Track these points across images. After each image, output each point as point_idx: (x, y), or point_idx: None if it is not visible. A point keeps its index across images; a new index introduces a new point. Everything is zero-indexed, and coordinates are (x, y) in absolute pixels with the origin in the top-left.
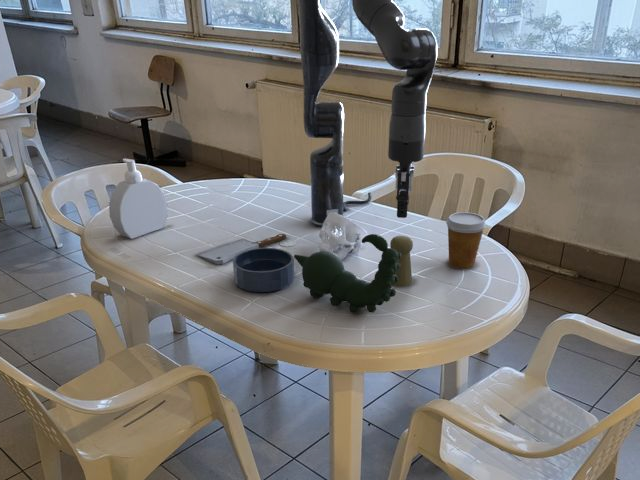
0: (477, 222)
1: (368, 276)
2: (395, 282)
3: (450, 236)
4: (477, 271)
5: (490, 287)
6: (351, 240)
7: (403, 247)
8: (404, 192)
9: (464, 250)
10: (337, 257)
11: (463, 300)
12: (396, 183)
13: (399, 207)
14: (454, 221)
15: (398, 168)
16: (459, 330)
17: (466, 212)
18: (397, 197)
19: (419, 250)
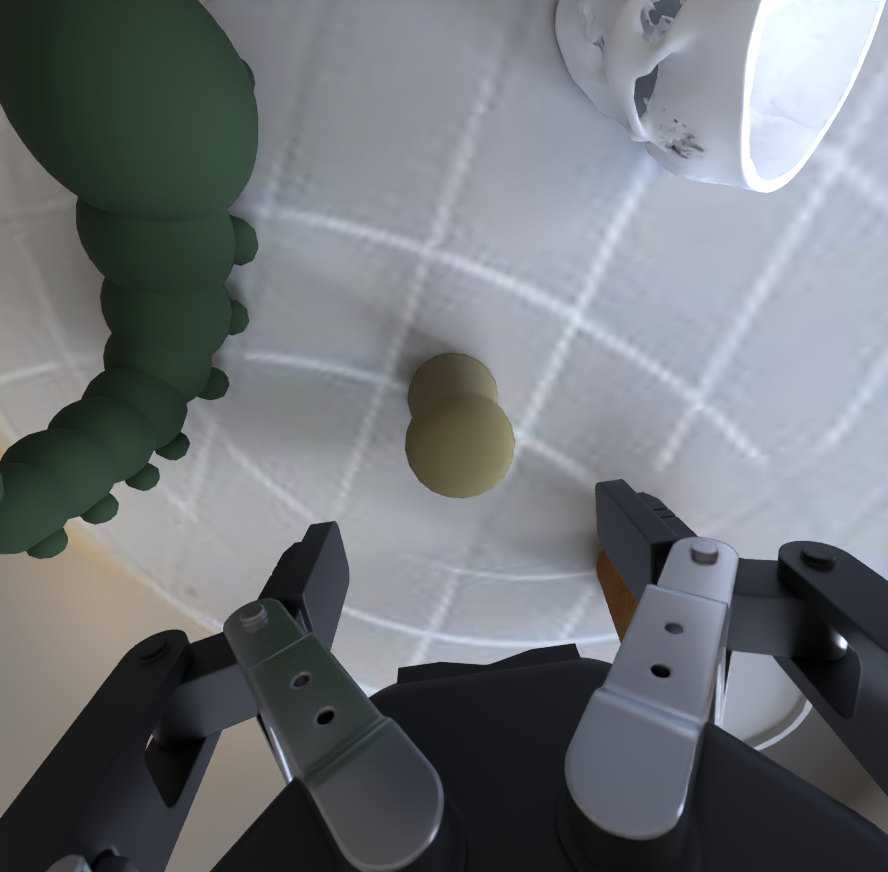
0: None
1: (461, 275)
2: (409, 395)
3: None
4: (587, 610)
5: (484, 650)
6: (659, 119)
7: (409, 465)
8: (635, 567)
9: (612, 617)
10: (130, 161)
11: (378, 597)
12: (264, 708)
13: (269, 587)
14: None
15: (578, 832)
16: (201, 608)
17: None
18: (119, 670)
19: (741, 414)
